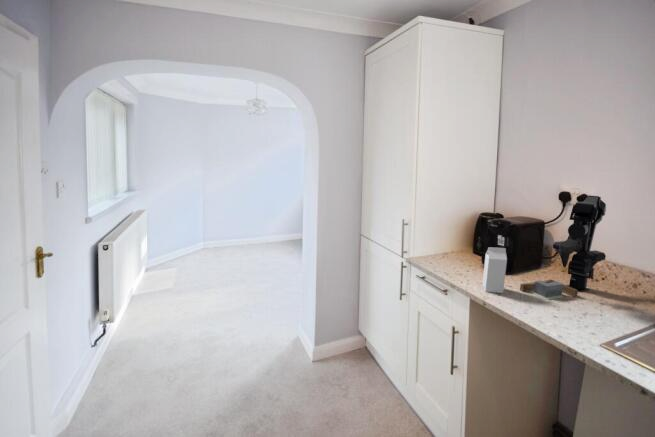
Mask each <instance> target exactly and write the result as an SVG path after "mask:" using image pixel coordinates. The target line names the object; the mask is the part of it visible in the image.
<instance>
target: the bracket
mask: <svg viewBox="0 0 655 437" xmlns="http://www.w3.org/2000/svg"><path fill="white" fill-rule="evenodd" d="M543 281H544V280H534V282H535V284H534V290H533V291H534V293H533V294H535V293H536V294H535V295H537V294H538V295H537V296H539V295H541V296H543V297H542V298H544V297H545V298H544V299H546V298H547V297H553V296H560V295H562V294H563V292H562V290H563V284H564V283H562V282H559V281H556V282H550V283H545V282H543ZM541 296H540V297H541ZM562 296H563V295H562Z"/></svg>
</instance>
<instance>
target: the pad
mask: <svg viewBox="0 0 655 437" xmlns="http://www.w3.org/2000/svg"><path fill="white" fill-rule="evenodd" d="M529 292H531V293H533V294H535V295H537V296H540V297H542V298H544V299H546V300H555V299H561V298H565V296H563V295H560V296H553V297H547V298H545V297H543V296H541V295H538V294H536V293H534V290H530V291H529Z"/></svg>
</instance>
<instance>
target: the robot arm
mask: <svg viewBox="0 0 655 437" xmlns="http://www.w3.org/2000/svg"><path fill="white" fill-rule="evenodd" d="M606 211H607V204H606V203H605V202H604V201H603V200H602V197H601V196H599V195H598V196H597V195H589V194H588V195H586V198H585V199H584V200H583V201H577V202H575V204H573V205H572V210H571V212H570V214H569V215H570V216H569V221H573V222H572V224H571V225H569V227H568V228H567V233H568V238H567V239H566V240H564V241H563V240H561V241H554V243H553V244H552V249H554V250H555V252H557V253H558V255H559V257H560V259H561V264H562V267H563V268H567V275H570V279H569V284H565V285H566V286H569V287H571V288H574V289H576V290H578V292H585V291H590V288H588V287H587V286H588V279H589V280H591V279H593V278H594V270H595V268H594V266H595V265H596V264H597V263H598V262H602V261H606V258H607V256H606V254H605V252H602V251H600V250H599V251H598V250H597V249H596V250H591V249H592V244H593V241H594V236H595V232H596V228H597V225H598V224H599V223H600V222H602V220H603V217H605V215H606ZM573 253H574V254H573ZM571 254H573V255H572V256H570V255H571ZM570 257H571V260H569V259H570ZM567 266H568V267H567Z"/></svg>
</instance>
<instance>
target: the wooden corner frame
mask: <svg viewBox="0 0 655 437" xmlns="http://www.w3.org/2000/svg"><path fill="white" fill-rule="evenodd" d="M542 281H543V282H545V283H550V282H557V281H556V280H553V279H546V280H542ZM534 284H535V281H532V282H531V281H530V282H525V283H520V284H519V291H520V292H522V293H523V292H530V291H534ZM562 284H563V290H562V294H566V295H567V296H570V297H572V298H577V297H578V293H579V291H578V290H576V289H574V288H571V287H569V286H566V285H567V284H564V283H562Z"/></svg>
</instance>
